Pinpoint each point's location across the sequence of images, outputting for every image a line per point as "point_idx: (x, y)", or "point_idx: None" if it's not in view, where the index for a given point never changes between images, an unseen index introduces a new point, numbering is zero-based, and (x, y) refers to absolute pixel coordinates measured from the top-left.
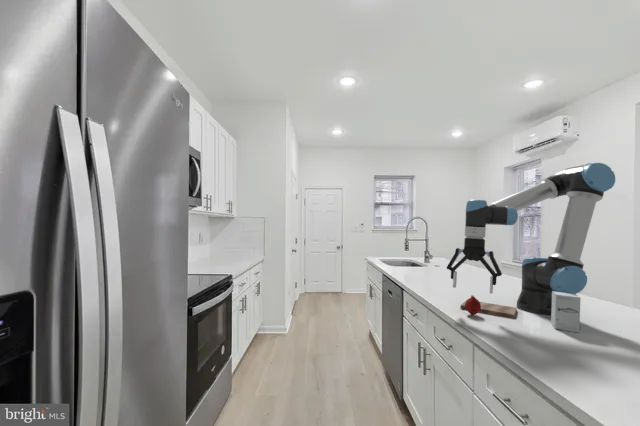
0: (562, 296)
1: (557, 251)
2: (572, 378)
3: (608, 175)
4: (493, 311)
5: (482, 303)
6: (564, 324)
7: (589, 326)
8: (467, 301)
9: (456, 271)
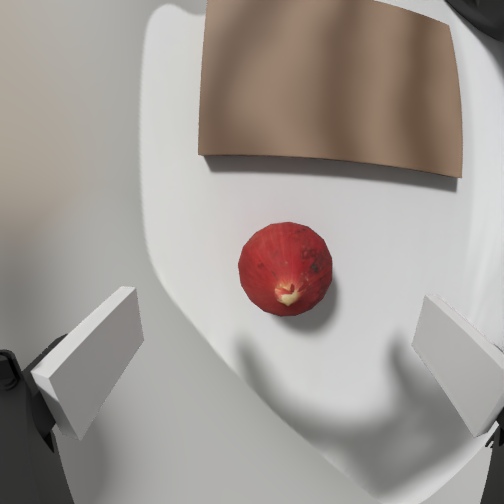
0: None
1: None
2: (419, 482)
3: None
4: (382, 164)
5: (303, 14)
6: None
7: None
8: (255, 302)
9: (49, 385)
